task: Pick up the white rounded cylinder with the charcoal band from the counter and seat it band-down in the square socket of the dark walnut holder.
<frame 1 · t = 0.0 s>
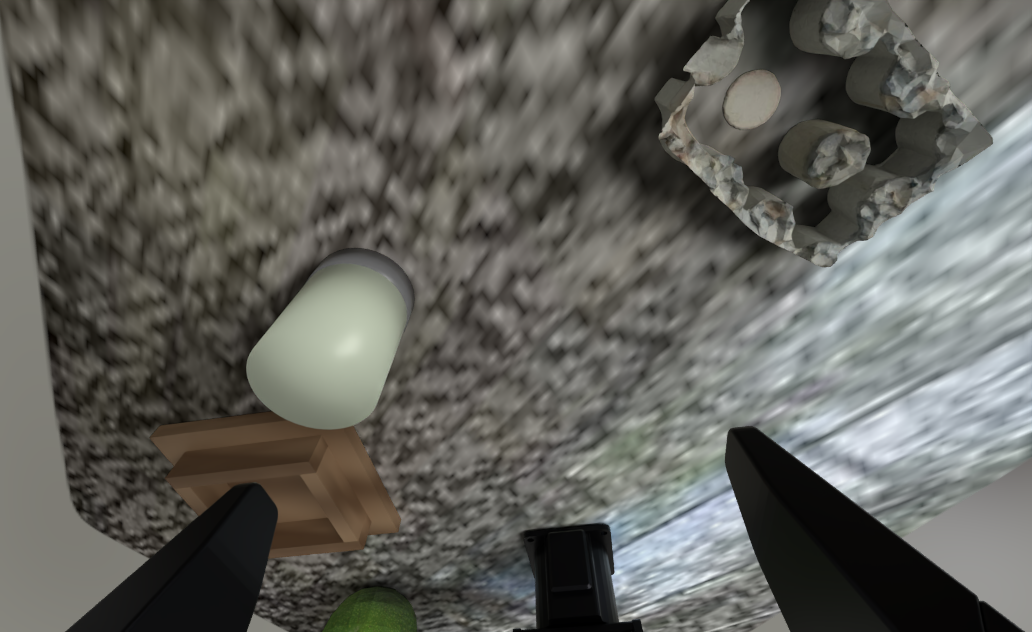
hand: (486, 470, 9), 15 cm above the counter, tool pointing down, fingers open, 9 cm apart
white rounded cylinder: (364, 293, 24), on the counter
holder: (290, 476, 31), on the counter
avocado: (381, 590, 40), on the counter
egg carton: (777, 118, 19), on the counter
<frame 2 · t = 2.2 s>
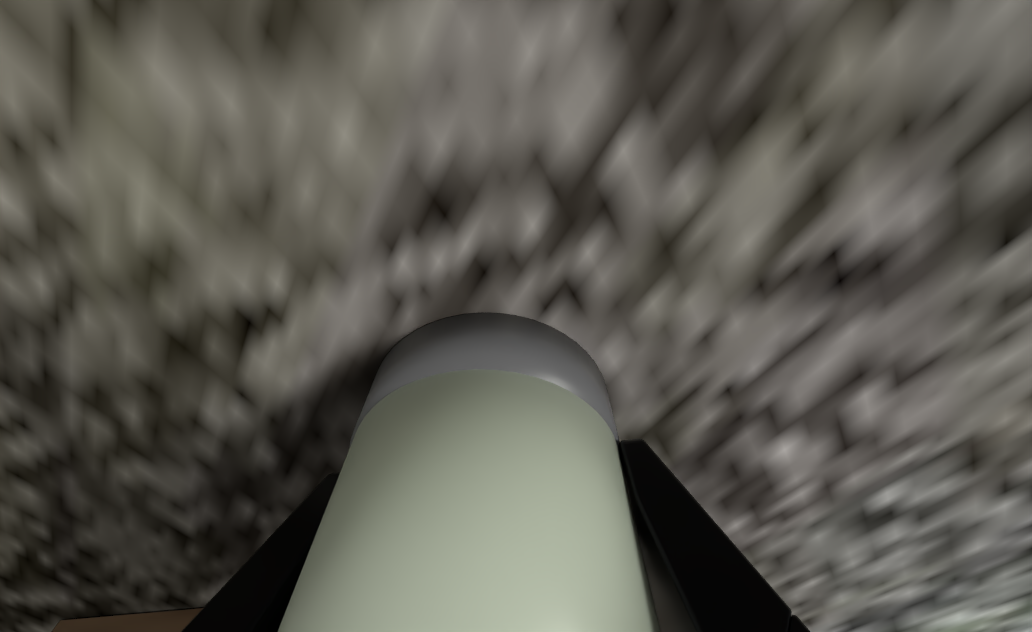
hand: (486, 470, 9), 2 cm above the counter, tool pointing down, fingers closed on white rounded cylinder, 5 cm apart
white rounded cylinder: (490, 411, 10), on the counter, touching gripper
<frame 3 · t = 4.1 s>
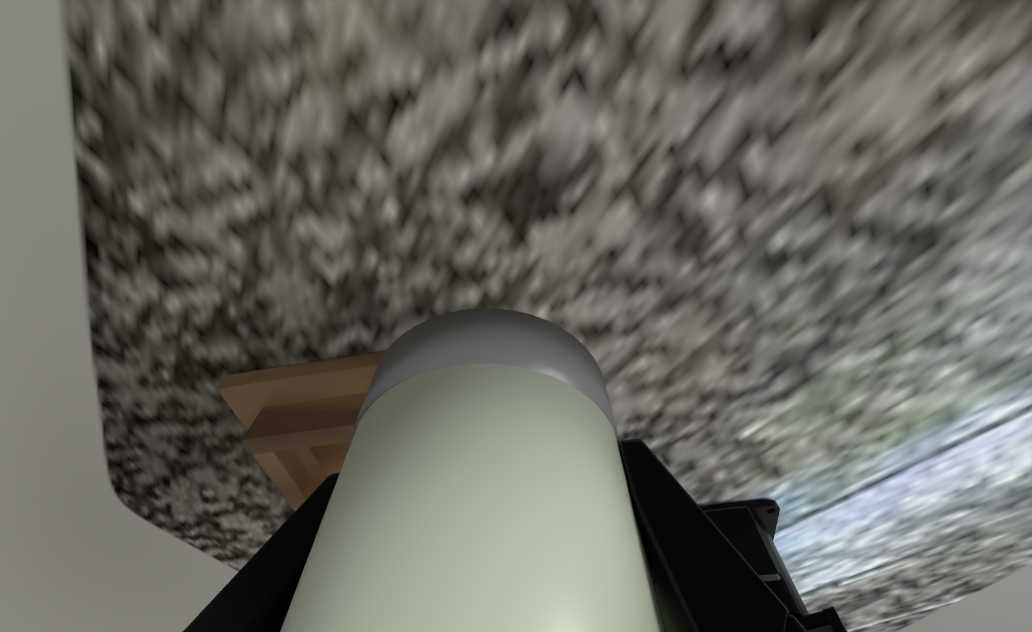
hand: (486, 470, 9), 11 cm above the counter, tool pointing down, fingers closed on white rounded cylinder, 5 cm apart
white rounded cylinder: (489, 406, 10), point 10 cm above the counter, touching gripper
holder: (388, 442, 25), on the counter
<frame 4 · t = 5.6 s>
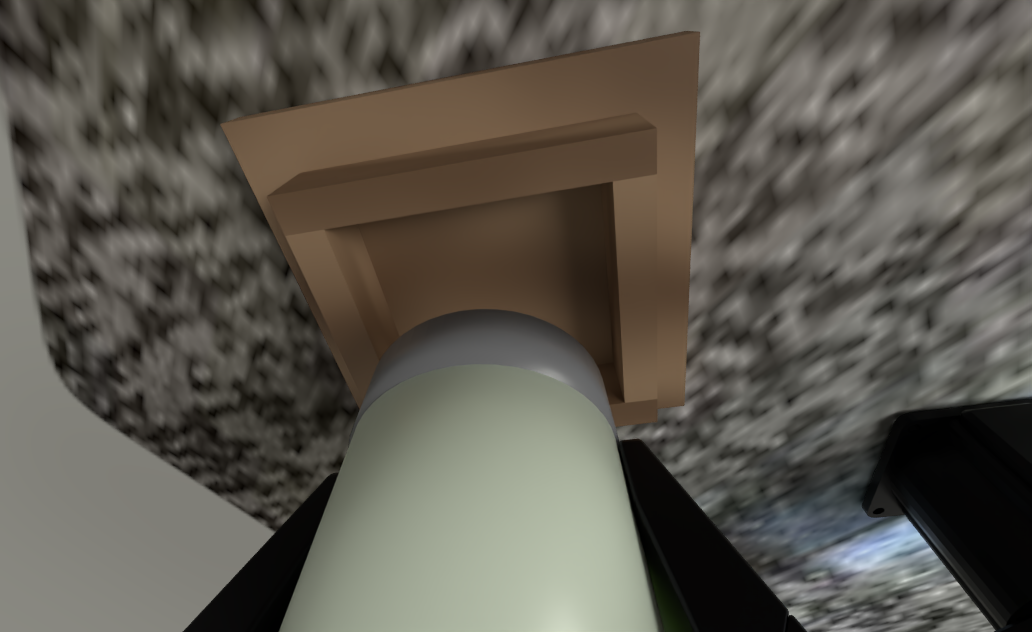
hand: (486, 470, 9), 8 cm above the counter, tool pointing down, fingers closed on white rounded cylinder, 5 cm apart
white rounded cylinder: (488, 407, 10), point 6 cm above the counter, touching gripper
holder: (496, 276, 15), on the counter
when the fingers open (5 cm above the counter, at t = 6.4 s): white rounded cylinder drops 3 cm, resting on holder.
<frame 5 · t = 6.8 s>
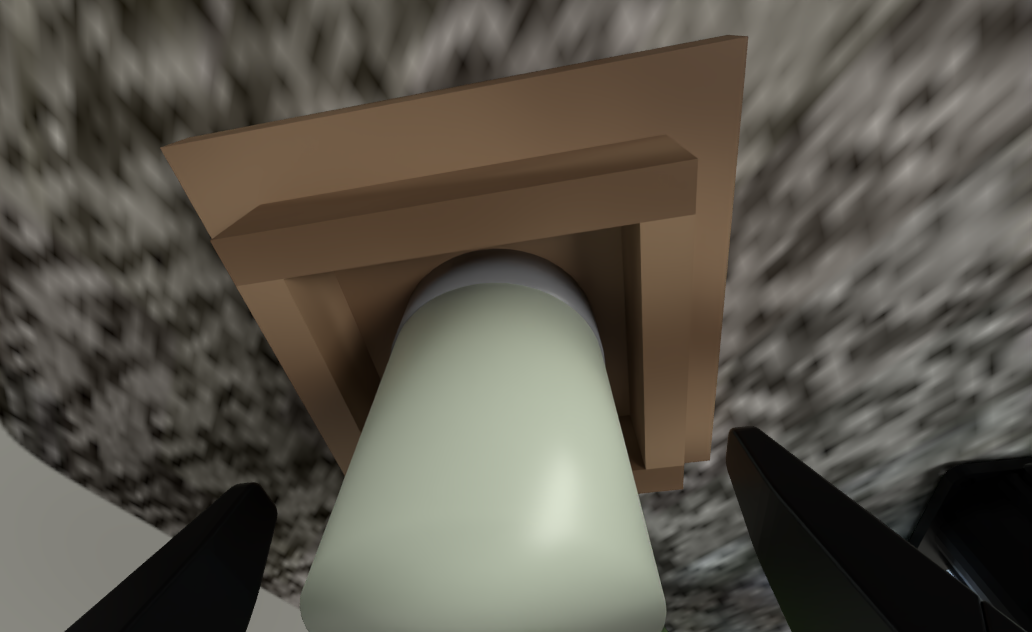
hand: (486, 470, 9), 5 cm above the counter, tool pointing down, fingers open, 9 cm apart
white rounded cylinder: (499, 335, 12), point 1 cm above the counter, touching holder
holder: (495, 317, 13), on the counter
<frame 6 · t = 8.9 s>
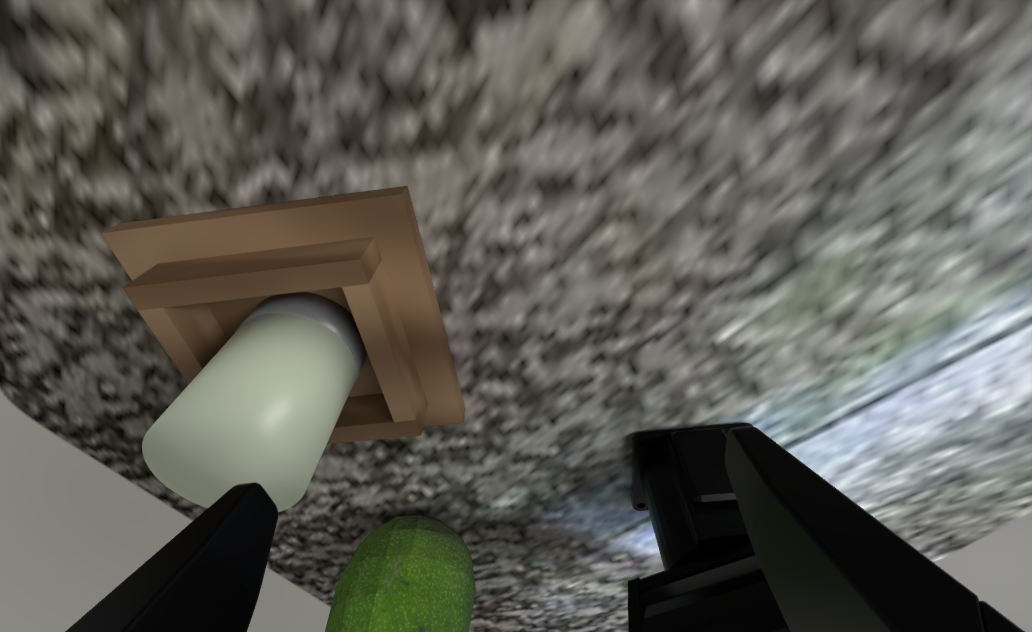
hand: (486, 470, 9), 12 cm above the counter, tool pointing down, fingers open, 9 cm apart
white rounded cylinder: (310, 340, 21), point 1 cm above the counter, touching holder
holder: (315, 328, 21), on the counter
avocado: (419, 523, 30), on the counter
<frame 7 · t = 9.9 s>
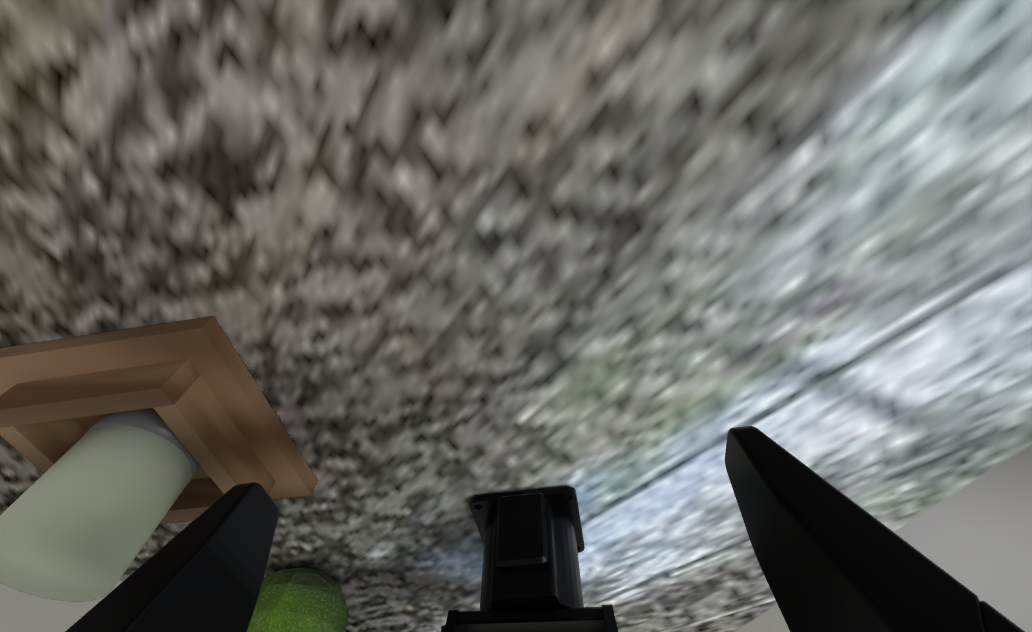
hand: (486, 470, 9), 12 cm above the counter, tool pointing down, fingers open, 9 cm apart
white rounded cylinder: (159, 435, 24), point 1 cm above the counter, touching holder
holder: (169, 422, 25), on the counter
avocado: (308, 571, 34), on the counter
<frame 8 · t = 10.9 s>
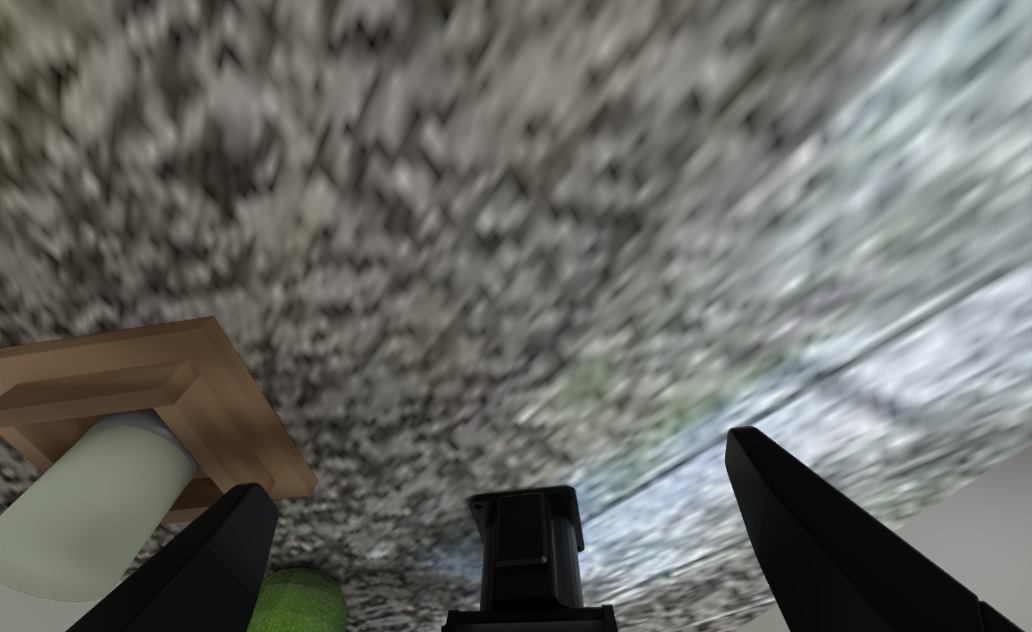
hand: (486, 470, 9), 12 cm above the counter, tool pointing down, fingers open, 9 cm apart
white rounded cylinder: (159, 435, 24), point 1 cm above the counter, touching holder
holder: (169, 422, 25), on the counter
avocado: (308, 572, 34), on the counter
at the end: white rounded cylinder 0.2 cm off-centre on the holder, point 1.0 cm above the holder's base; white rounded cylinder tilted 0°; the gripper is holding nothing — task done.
